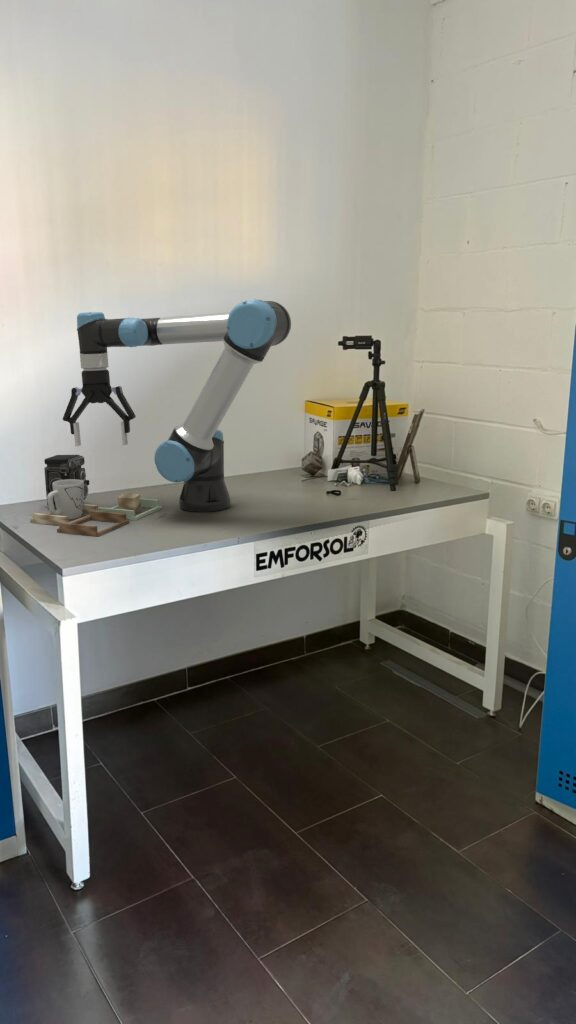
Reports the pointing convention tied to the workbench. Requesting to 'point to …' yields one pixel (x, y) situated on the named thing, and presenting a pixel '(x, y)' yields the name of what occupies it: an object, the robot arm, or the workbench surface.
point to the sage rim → (130, 513)
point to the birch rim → (58, 519)
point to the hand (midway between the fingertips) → (101, 445)
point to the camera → (64, 471)
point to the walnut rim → (92, 530)
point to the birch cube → (130, 502)
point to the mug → (67, 498)
